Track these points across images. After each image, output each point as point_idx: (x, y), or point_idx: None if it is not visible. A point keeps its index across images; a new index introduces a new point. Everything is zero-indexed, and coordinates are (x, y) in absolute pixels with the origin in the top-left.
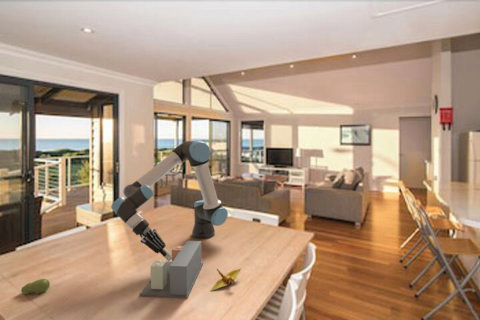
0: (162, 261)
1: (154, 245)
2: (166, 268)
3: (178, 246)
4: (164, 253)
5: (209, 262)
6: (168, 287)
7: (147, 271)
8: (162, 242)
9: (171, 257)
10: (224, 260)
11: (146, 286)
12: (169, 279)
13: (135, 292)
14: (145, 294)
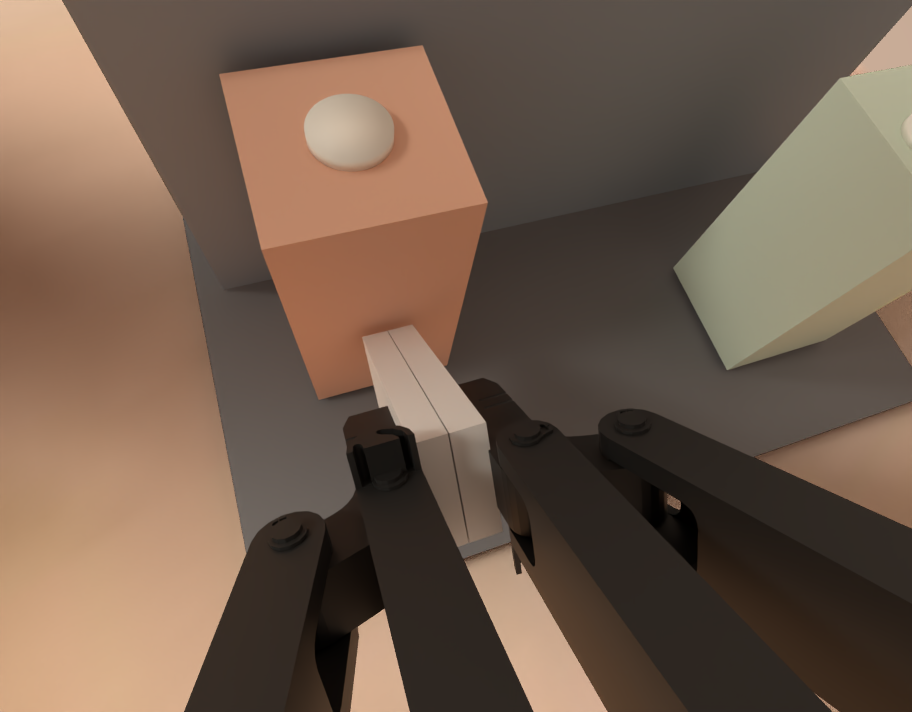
0: (893, 115)
1: (810, 487)
2: (776, 158)
3: (310, 144)
4: (504, 393)
5: (103, 126)
6: (706, 229)
7: (558, 703)
8: (313, 575)
9: (419, 334)
10: (26, 21)
11: (817, 421)
12: (605, 291)
13: (907, 479)
14: (894, 341)
